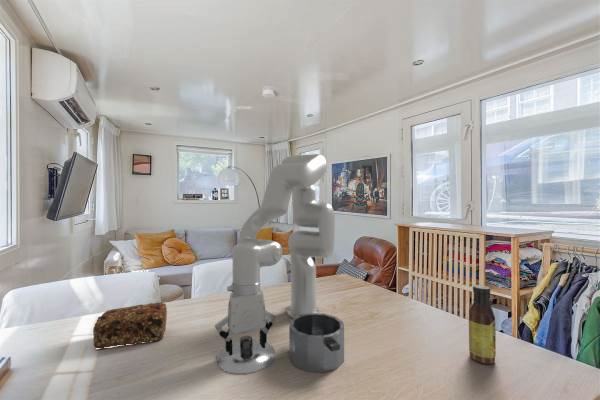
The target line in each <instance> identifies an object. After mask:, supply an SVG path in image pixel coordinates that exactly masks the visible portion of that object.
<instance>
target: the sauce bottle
mask: <svg viewBox="0 0 600 400" xmlns="http://www.w3.org/2000/svg"><path fill="white" fill-rule="evenodd" d="M472 291H473V303H472V304H471V306H470V307H469V310H468V351H469V356H470V358H471V359H472V360H473V361H475V362H478V363H480V364H486V365H491V364H494V363H495V362H496V355H497V354H496V352H497V350H496V348H497V347H496V346H497V345H496V338H497V337H496V336H497V335H496V334H497V333H496V332H497V331H496V316H495V313H494V311H493V308H492V305H491V302H490V298H491V297H490V294H491V288H490V287H489V286H486V285H482V284H481V285H480V284H475V285H472Z"/></svg>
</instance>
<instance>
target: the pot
mask: <svg viewBox="0 0 600 400" xmlns="http://www.w3.org/2000/svg"><path fill="white" fill-rule="evenodd" d="M288 327H289V328H288V329H289V330H288V331H289V334H288V335H289V342H288V343H289V345H288V350H289V353H288V355H289V356H288V359H289V360H290V362H291V363H292V364H293V366H294V367H296V368H297V369H300V370H303V371H304V372H307V373H318V374H319V373H320V374H323V373H327V372H331V371H334V370H338V369H339V367H340V366H341V365H342V364H344V362H345V324H344V321H343V320H341V319H340V318H338V317H337V316H335V315H331V314H327V313H323V312H322V313H321V312H320V313H309V314H303V315H298V316H297V317H295V318H291V319H290V323H289V325H288Z"/></svg>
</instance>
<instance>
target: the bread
mask: <svg viewBox="0 0 600 400" xmlns="http://www.w3.org/2000/svg"><path fill="white" fill-rule="evenodd" d="M167 309H168V307H167V304H166V303H164V302H154V303H152V302H151V303H147V304H138V305H132V306H125V307H118V308H113V309H108V310H106V311H105V312H104V313H101V314H102V315H101V316H98V318H97V319H96V322H95V323H94V326H93V330H92V331H93V332H92V333H93V334H92V335H93V346H94V349H95V348H104V347H110V346H117V345H126V344H135V343H142V342H150V341H155V342H156V340H159V341H161V340H162V339H163V338H164V336H163V335H165V333H166V329H167V328H166V327H167V318H168V317H167V316H168V315H167V313H168V310H167ZM164 332H165V333H164ZM150 343H151V342H150Z"/></svg>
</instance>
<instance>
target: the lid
mask: <svg viewBox="0 0 600 400" xmlns="http://www.w3.org/2000/svg"><path fill="white" fill-rule="evenodd" d="M275 357H276V350H275V348H274V346H272V344H270V343H268V342H267V343H265V348H262V346H261V345H260V339H258V340H257V339H253V337H252V336H251V335H243V336H241V337H240V338H239V341H236V342H234V343H233V342H232V356H230V355H229V353H228V352H226V346H225V347H224V348H223V349H222V350H221V351H219V353H218V354H217V357H216V363H218V364H217V366H218V365H219V366H218V368H220V369H221V370H222V369H223V370H222V371H224V370H225V371H224V372H226V371H227V373H228V372H230V373H229V374H233V373H234V374H233V375H248V374H247V373H249V374H253V372H254V373H257V372H260V371H262V370H264V369H266V368H268V367H269V366H270V365H271V364H272V363H273V362H274V361H275V359H276V358H275ZM274 358H275V359H274ZM273 360H274V361H273ZM268 365H269V366H268ZM267 366H268V367H267ZM265 367H266V368H265ZM261 369H262V370H261ZM259 370H260V371H259ZM256 371H257V372H256Z"/></svg>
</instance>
